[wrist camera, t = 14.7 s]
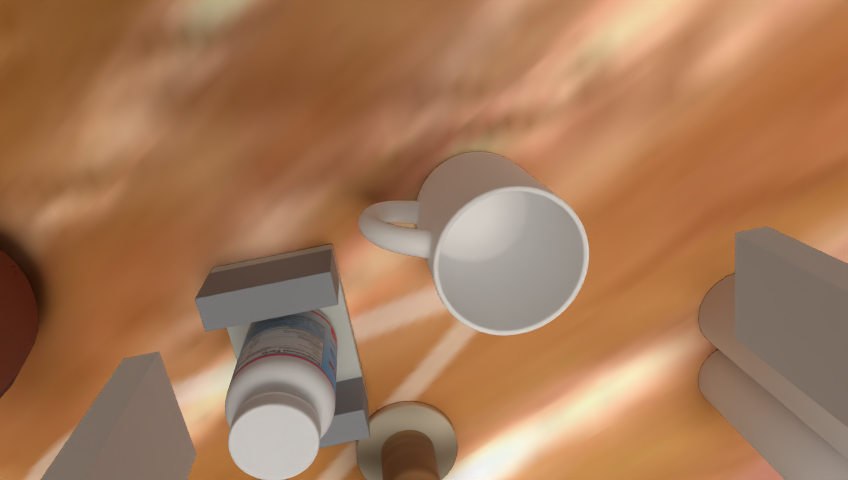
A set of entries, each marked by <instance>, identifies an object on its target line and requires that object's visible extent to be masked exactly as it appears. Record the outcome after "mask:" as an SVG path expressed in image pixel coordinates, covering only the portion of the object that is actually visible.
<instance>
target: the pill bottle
mask: <svg viewBox="0 0 848 480" xmlns="http://www.w3.org/2000/svg"><path fill="white" fill-rule="evenodd" d="M336 375H337V336H336V332H335V330H334V327H333V325H332V324H331V322H330V321H329V319H328V318H327V317H326V316H325V315H323V314H322V313H321V312H319V311H318V310H316V309H315V310H311V311H306V312H301V313H296V314H291V315H286V316H281V317H276V318H271V319H267V320H262V321H257V322H252V324H251V325H250V327H249V329H248V332H247V334H246V337H245V340H244V343H243V346H242V349H241V352H240V355H239V358H238V361H237V364H236V367H235V370H234V373H233V377H232V380H231V383H230V386H229V389H228V392H227V396H226V401H225V414H226V419H227V422H228V425H229V427H230V432H229V438H228V447H229V451H230V454H231V457H232V459H233V460H234V462H235V463H236V464H237V466H238V467H239V468H240V469H241V470H243V471H244V472H246V473H247V474H249V475H251V476H253V477H256V478H259V479H263V480H283V479H287V478H291V477H293V476H296V475H298V474H300V473H301V472H303V471H304V470H305V469H307V468H308V467H309V466H310V464H311V463H312V462H313V460H314V459H315V457H316V455H317V453H318V450H319V445H320V439H321V438H322V437H323V436H324V434H325V433H326V432H327V430H328V429H329V427H330V425H331V422H332V420H333V416H334V412H335V402H336Z"/></svg>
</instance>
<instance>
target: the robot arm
mask: <svg viewBox="0 0 848 480" xmlns="http://www.w3.org/2000/svg"><path fill="white" fill-rule="evenodd" d="M735 339H736V340H738V341H739V342H740V343H741V344H743V345H744V346H745V347H746V348H748V349H749V350H750V351H751V352H753V353H754V354H755V355H757V356H758V357H759V358H760V359H762V360H763V361H764V362H765V363H767V364H768V365H769V366H770V367H772V368H773V369H774V370H775V371H777V372H778V373H779V374H781V375H782V376H783V377H784V378H786V379H787V380H788V381H789V382H791V383H792V384H793V385H794V386H796V387H797V388H798V389H799V390H801V391H802V392H803V393H804V394H806V395H807V396H808V397H810V398H811V399H812V400H813V401H815V402H816V403H817V404H818V405H820V406H821V407H822V408H823V409H825V410H826V411H827V412H828V413H830V414H831V415H832V416H833V417H835V418H836V419H837V420H839V421H840V422H841V423H842V424H844V425H845V426H846V427H847V428H848V264H847V263H845V262H843V261H841V260H838V259H836V258H834V257H832V256H830V255H828V254H826V253H823V252H821V251H819V250H817V249H815V248H813V247H810V246H808V245H806V244H804V243H802V242H800V241H798V240H795V239H793V238H791V237H789V236H787V235H785V234H782V233H780V232H778V231H776V230H774V229H772V228H770V227H762V228H757V229H752V230H747V231H742V232H738V233H735ZM195 457H196V452H195V449H194V446H193V443H192V441H191V438H190V435H189V432H188V430H187V427H186V424H185V421H184V419H183V416H182V413H181V410H180V408H179V405H178V402H177V399H176V397H175V394H174V391H173V388H172V386H171V383H170V380H169V378H168V375H167V372H166V369H165V367H164V364H163V361H162V358H161V356H160V353H159V352H154V353H150V354H145V355H140V356H135V357H130V358H125V359H123V360H122V362H121V363H120V365H119V366H118V368H117V369H116V370H115V372H114V373H113V375H112V376H111V378H110V379H109V381H108V382H107V384H106V385H105V386H104V388H103V389H102V391H101V392H100V394H99V395H98V397H97V398H96V400H95V401H94V402H93V404H92V405H91V407H90V408H89V410H88V411H87V413H86V414H85V416H84V417H83V418H82V420H81V421H80V423H79V424H78V426H77V427H76V429H75V430H74V432H73V433H72V434H71V436H70V437H69V439H68V440H67V442H66V443H65V445H64V446H63V448H62V449H61V450H60V452H59V453H58V455H57V456H56V458H55V459H54V461H53V462H52V464H51V465H50V466H49V468H48V469H47V471H46V472H45V474H44V475H43V477H42V478H41V480H187V479H188V476H189V474H190V471H191V468H192V465H193V462H194V460H195Z"/></svg>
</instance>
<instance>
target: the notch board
mask: <svg viewBox="0 0 848 480" xmlns="http://www.w3.org/2000/svg"><path fill="white" fill-rule="evenodd" d="M195 301H196V304H197V307H198V310H199V313H200V316H201V319H202V322H203V325H204V328H205V331H206V332H208V331H213V330H218V329H223V328H227V330H228V333H229V337H230V340H231V343H232V346H233V349H234V352H235V356H236V359H237V361H238V358H239V355H240V352H241V349H242V346H243V343H244V340H245V337H246V334H247V332H248V329H249V327H250V325H251V324H252V322H257V321H262V320H267V319H271V318H276V317H281V316H286V315H291V314H296V313H301V312H306V311H311V310H315V309H316V310H318V311H319V312H321V313H322V314H323V315H325V316H326V317H327V318H328V319H329V321H330V322H331V324H332V325H333V327H334V330H335V332H336V336H337V375H336V402H335V412H334V416H333V420H332V422H331V425H330V427H329V429H328V430H327V432H326V433H325V434H324V436H323V437H322V438H321V439H320V445H319V448H323V447H328V446H333V445H337V444H342V443H346V442H351V441H355V440H360V439H365V438H369V437H370V427H369V408H368V394H367V389H366V385H365V381H364V377H363V372H362V368H361V364H360V360H359V355H358V351H357V347H356V343H355V338H354V334H353V330H352V326H351V321H350V317H349V313H348V309H347V304H346V300H345V296H344V292H343V288H342V283H341V279H340V275H339V271H338V266H337V262H336V258H335V254H334V249H333V245H332V244H329V245H324V246H319V247H314V248H309V249H304V250H299V251H294V252H289V253H284V254H279V255H274V256H269V257H264V258H259V259H254V260H249V261H244V262H239V263H234V264H229V265H224V266H219V267H214V268H212V270H211V272H210V273H209V275H208V277H207V279H206V280H205V282H204V284H203V286H202V287H201V289H200V291H199V293H198V294H197V296H196V298H195Z"/></svg>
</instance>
